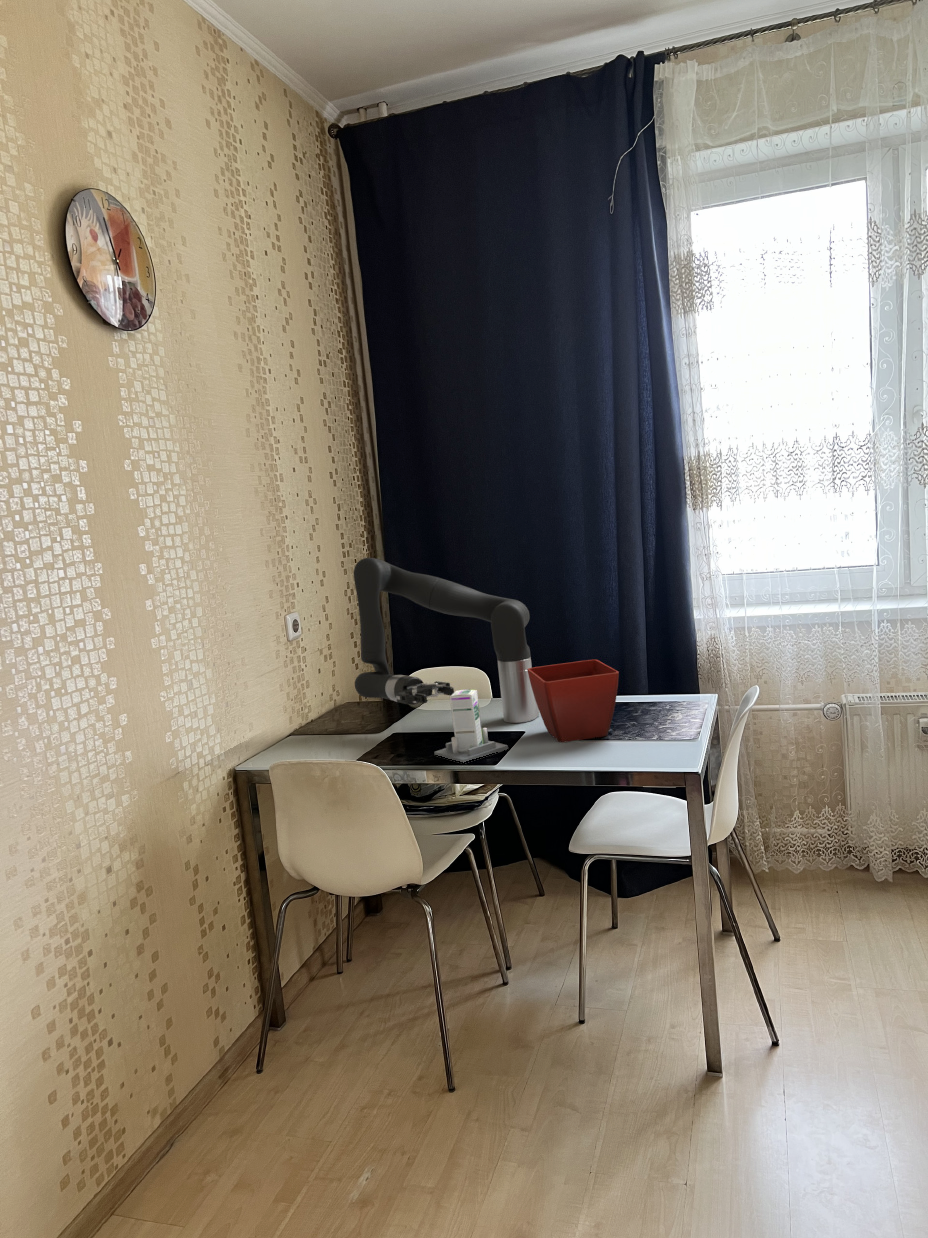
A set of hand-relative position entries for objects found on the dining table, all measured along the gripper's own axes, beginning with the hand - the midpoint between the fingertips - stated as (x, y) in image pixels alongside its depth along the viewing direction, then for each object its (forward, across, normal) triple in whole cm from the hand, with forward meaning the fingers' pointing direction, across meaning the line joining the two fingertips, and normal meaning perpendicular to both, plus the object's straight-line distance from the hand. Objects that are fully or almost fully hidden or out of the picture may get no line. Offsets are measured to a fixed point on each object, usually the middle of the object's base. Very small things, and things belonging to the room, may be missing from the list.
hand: (439, 695), depth 233 cm
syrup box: (+11, -1, +13) cm, 17 cm away
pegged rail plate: (+11, 0, +13) cm, 18 cm away
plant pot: (+22, +26, +14) cm, 37 cm away
